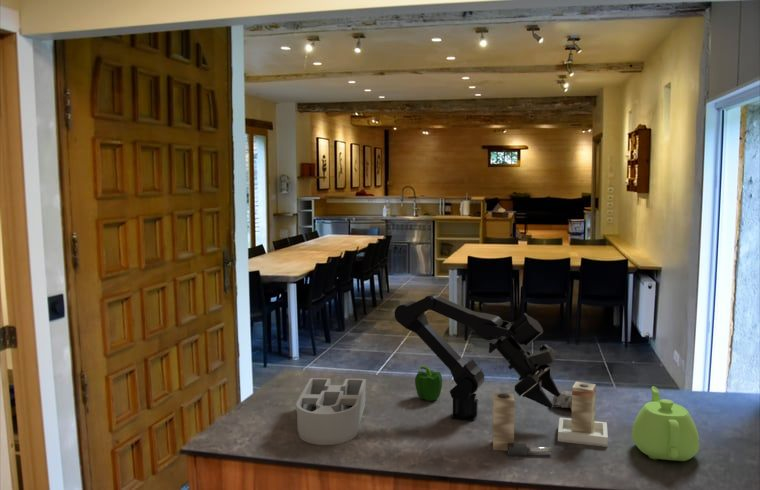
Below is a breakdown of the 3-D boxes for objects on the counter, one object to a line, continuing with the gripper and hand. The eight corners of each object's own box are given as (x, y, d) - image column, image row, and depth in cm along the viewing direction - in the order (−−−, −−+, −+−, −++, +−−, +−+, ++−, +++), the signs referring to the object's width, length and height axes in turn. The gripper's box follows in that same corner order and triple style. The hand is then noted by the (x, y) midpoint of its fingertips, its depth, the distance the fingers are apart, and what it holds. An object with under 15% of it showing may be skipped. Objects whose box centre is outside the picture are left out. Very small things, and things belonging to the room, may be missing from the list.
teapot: (622, 430, 168) (624, 383, 167) (683, 434, 166) (685, 385, 164) (640, 468, 147) (642, 414, 145) (710, 473, 144) (713, 418, 143)
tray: (557, 441, 162) (558, 431, 162) (559, 426, 172) (559, 417, 171) (607, 446, 158) (607, 437, 158) (606, 431, 168) (606, 422, 168)
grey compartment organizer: (366, 407, 188) (366, 378, 187) (355, 447, 160) (355, 414, 159) (311, 406, 189) (310, 378, 188) (291, 446, 161) (290, 413, 161)
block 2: (570, 435, 164) (572, 387, 162) (574, 428, 168) (575, 381, 167) (591, 439, 161) (592, 390, 160) (594, 432, 166) (595, 384, 164)
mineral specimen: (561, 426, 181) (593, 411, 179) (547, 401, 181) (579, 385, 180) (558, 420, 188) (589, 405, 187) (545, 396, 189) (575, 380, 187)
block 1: (493, 449, 157) (493, 399, 156) (492, 441, 162) (493, 392, 161) (513, 450, 157) (514, 400, 155) (512, 442, 162) (513, 393, 160)
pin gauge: (508, 455, 154) (508, 447, 154) (507, 451, 156) (507, 443, 156) (552, 456, 153) (552, 447, 153) (550, 452, 156) (550, 443, 155)
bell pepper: (448, 397, 194) (448, 366, 193) (432, 405, 188) (432, 372, 187) (426, 391, 200) (426, 360, 199) (410, 398, 194) (409, 367, 193)
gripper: (528, 345, 159) (571, 395, 156) (545, 329, 176) (584, 373, 172) (497, 371, 164) (538, 420, 160) (516, 353, 180) (554, 396, 177)
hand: (555, 401), depth 167 cm, fingers open, 9 cm apart
